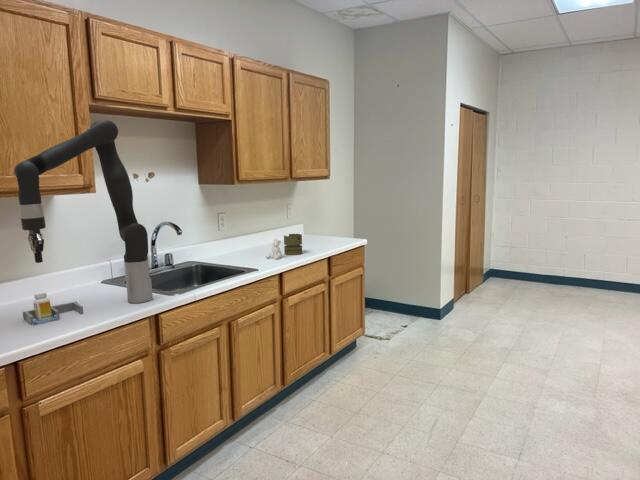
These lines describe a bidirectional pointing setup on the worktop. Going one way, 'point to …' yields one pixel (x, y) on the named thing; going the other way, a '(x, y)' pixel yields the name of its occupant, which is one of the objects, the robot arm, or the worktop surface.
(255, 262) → the worktop surface
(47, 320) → the light blue flat bar
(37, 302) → the supplement bottle
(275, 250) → the seated beast figurine
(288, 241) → the olive green ridged block
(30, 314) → the grey two-tier shelf
